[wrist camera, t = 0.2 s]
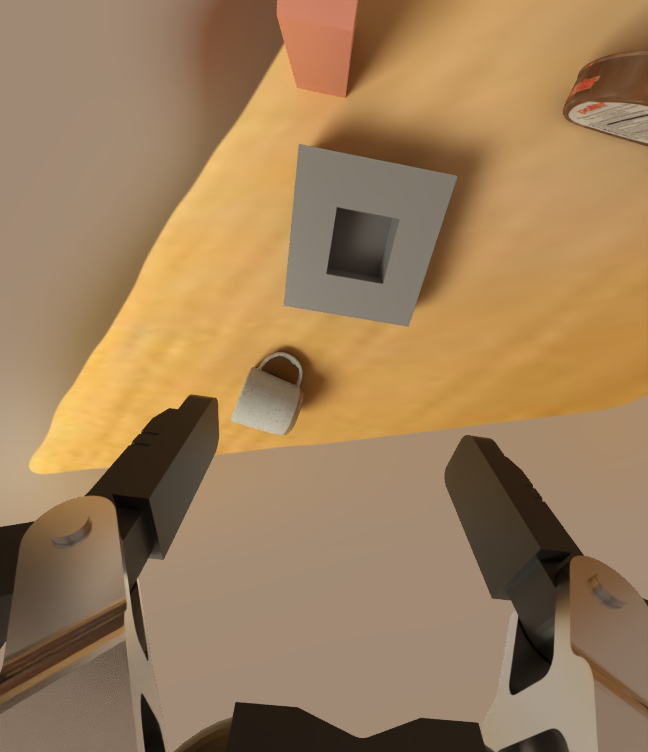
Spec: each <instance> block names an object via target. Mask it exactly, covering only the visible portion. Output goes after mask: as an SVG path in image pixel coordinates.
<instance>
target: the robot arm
mask: <svg viewBox="0 0 648 752" xmlns="http://www.w3.org/2000/svg"><path fill="white" fill-rule="evenodd" d="M218 440H219V420H218V401H217V399H216V398H213V397H206V396H199V395H189V396H188V397H187V399H186V400H185V401H184V402H183V404H182V405H181V406H180V408H179V409H171V408H169V409H167V410H166V411H164V412H162V413H161V414H159V415H157V416H156V417H154V418H152V420H151V421H150V422H149V423H148V424H147V425H146V427H145V428H144V429H143V430H142V431H141V434H139V435H138V436H137V437H136V438H135V439H134V440H133V442H132V444H131V445H129V446H128V447H127V448H126V450H125V451H124V452H123V453H122V454H121V455H120V456H119V458H118V459H117V460H116V461H115V462H114V463H113V465H112V466H111V467H110V468H109V469H108V470H107V471H106V473H105V474H104V475H103V476H102V477H101V479H100V480H99V481H98V482H97V483H96V484H95V485H94V486H93V488H92V489H91V490H90V491H89V492H88V493H87V494H86V495H85V496H83V497H78V498H75V499H71V500H68V501H66V502H63V503H61V504H59V505H57V506H55V507H54V508H52V509H50V510H49V511H47V512H46V513H44V514H43V515H42V516H40V517H39V518H38V519H37V520H36V521H34V522H29V523H22V524H16V525H10V526H4V527H0V649H1V647H2V646H3V644H4V643H5V642H6V648H5V654H4V662H3V666H2V669H1V672H0V752H169V751H168V745H167V739H166V733H165V727H164V720H163V714H162V708H161V702H160V697H159V692H158V687H157V683H156V679H155V675H154V671H153V665H152V660H151V654H150V647H149V641H148V634H147V629H146V622H145V615H144V609H143V602H142V596H141V590H140V584H139V578H138V576H139V574H140V573H141V571H142V569H143V567H144V565H145V563H146V561H147V559H148V558H151V559H161V560H163V559H164V558H165V555H166V553H167V551H168V549H169V547H170V545H171V543H172V541H173V539H174V537H175V535H176V533H177V531H178V529H179V527H180V525H181V522H182V520H183V518H184V516H185V514H186V512H187V510H188V508H189V506H190V504H191V502H192V500H193V498H194V496H195V494H196V492H197V490H198V488H199V485H200V483H201V481H202V479H203V477H204V475H205V473H206V471H207V469H208V467H209V465H210V463H211V461H212V459H213V457H214V455H215V452H216V449H217V446H218ZM445 484H446V487H447V490H448V492H449V495H450V497H451V499H452V502H453V504H454V507H455V509H456V512H457V514H458V516H459V519H460V521H461V524H462V526H463V529H464V531H465V534H466V536H467V538H468V541H469V543H470V545H471V548H472V550H473V553H474V555H475V558H476V560H477V563H478V565H479V567H480V570H481V572H482V575H483V577H484V580H485V582H486V585H487V587H488V590H489V592H490V594H491V597H492V598H494V599H503V600H511V601H512V603H513V605H514V607H515V610H514V611H513V612H512V613H511V615H510V618H509V624H508V630H507V637H506V643H505V649H504V655H503V662H502V668H501V675H500V680H499V687H498V692H497V696H496V698H495V701H494V703H493V706H492V707H491V709H490V710H489V712H488V714H487V716H486V718H485V720H484V723H483V726H482V729H481V731H480V727H479V724H478V723H475V722H463V721H451V720H439V719H428V718H427V719H426V718H419V719H417V720H414V721H411V722H408V723H406V724H403V725H401V726H398V727H395V728H392V729H389V730H387V731H384V732H382V733H379V734H376V735H373V736H371V737H368V738H358V737H355V736H353V735H351V734H349V733H347V732H345V731H343V730H341V729H339V728H337V727H335V726H333V725H331V724H329V723H327V722H325V721H323V720H321V719H319V718H317V717H315V716H314V715H311V714H310V713H308V712H306V711H304V710H302V709H300V708H298V707H287V706H276V705H264V704H251V703H240V702H236V703H235V708H234V713H233V717H231V718H228V719H225V720H222V721H219V722H217V723H215V724H213V725H211V726H209V727H207V728H205V729H203V730H202V731H200V732H199V733H197V734H196V735H194V736H193V737H192V738H190V739H189V740H187V741H186V742H184V743H183V744H182V745H181V746H180V747H179V748H178V749H176V750H175V751H174V752H648V600H646V599H643V598H642V597H641V596H640V595H639V593H638V592H637V591H636V590H635V588H634V587H633V586H632V585H631V584H630V583H629V582H628V581H627V580H626V579H625V578H623V577H622V576H621V575H620V574H619V573H617V572H616V571H615V570H613V569H612V568H610V567H609V566H607V565H606V564H604V563H602V562H600V561H599V560H596V559H594V558H591V557H588V556H584V555H583V554H582V552H581V551H580V549H579V548H578V547H577V545H576V544H575V543H574V541H573V540H572V539H571V537H570V536H569V535H568V533H567V532H566V530H565V529H564V527H563V526H562V525H561V523H560V522H559V521H558V519H557V518H556V517H555V515H554V514H553V513H552V511H551V510H550V508H549V507H548V505H547V504H546V503H545V502H543V501H542V497H541V496H540V494H539V493H538V492H537V490H536V489H534V488H533V485H532V483H531V482H530V481H529V479H528V478H527V477H526V475H525V474H524V472H523V471H522V470H521V469H520V468H519V467H518V466H516V465H515V464H514V463H513V462H512V461H511V460H510V459H509V458H507V457H505V456H504V454H503V453H502V451H501V450H500V449H499V447H498V446H497V444H496V443H495V442H494V441H493V440H492V439H490V438H484V437H477V436H470V435H466V436H464V437H463V438H462V439H461V441H460V443H459V445H458V447H457V448H456V450H455V452H454V454H453V456H452V458H451V460H450V461H449V463H448V465H447V467H446V470H445Z"/></svg>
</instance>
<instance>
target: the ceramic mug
mask: <svg viewBox="0 0 648 752" xmlns="http://www.w3.org/2000/svg"><path fill="white" fill-rule="evenodd" d="M277 356H283V357H285V358H287V359H288V360H290V361H291V362H292V364H294V365H296V366H297V367H298V370H299V376H298V380H297V383H296V384H295V385H294V384H292V383H290V382H287V381H285V380H282V379H280V378H278V377H276V376H273V375H271V374H269V373H267V372H265V371H263V370H262V367H263V366H264V365H265V364H266V363H267V362H268V361H269V360H270V359H272V358H274V357H277ZM301 381H302V367H301V364H300V363H299V361H298V360H297V359H296V358H295V357H294V356H292V355H290V354H288V353H285V352H275V353H273V354H271V355H269V356H268V357H266V358H265V359H264V361H263V362H262V363H261V364H260V366H259V367H258V368H255V367H252V368H251V370H250V372H249V374H248V376H247V379H246V381H245V383H244V386H243V389H242V391H241V394H240V396H239V399H238V401H237V404H236V406H235V409H234V411H233V414H232V417H231V421H232V422H235V423H239V424H243V425H246V426H249V427H253V428H256V429H260V430H263V431H267V432H270V433H274V434H280V435H286V434H288V433H289V432H290V431H291V430H292V428H293V427H294V425H295V423H296V420H297V418H298V415H299V412H300V410H301V406H302V402H303V392H302V390H301V389H300V388H299V386H300V383H301Z"/></svg>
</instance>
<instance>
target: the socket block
mask: <svg viewBox="0 0 648 752" xmlns="http://www.w3.org/2000/svg"><path fill="white" fill-rule="evenodd" d="M457 177H458V176H456V175H451V174H446V173H441V172H436V171H431V170H426V169H421V168H416V167H411V166H406V165H401V164H396V163H391V162H386V161H381V160H376V159H371V158H367V157H362V156H357V155H352V154H347V153H342V152H337V151H332V150H327V149H322V148H317V147H312V146H307V145H302V144H299V149H298V160H297V171H296V181H295V192H294V203H293V213H292V224H291V235H290V246H289V256H288V267H287V278H286V289H285V299H284V306H289V307H295V308H301V309H307V310H313V311H319V312H325V313H331V314H337V315H343V316H349V317H355V318H361V319H367V320H373V321H378V322H384V323H390V324H396V325H402V326H408V327H409V324H410V321H411V318H412V315H413V312H414V309H415V305H416V302H417V299H418V296H419V293H420V290H421V287H422V284H423V281H424V278H425V275H426V272H427V269H428V266H429V263H430V260H431V256H432V253H433V250H434V247H435V244H436V241H437V238H438V235H439V232H440V229H441V226H442V223H443V220H444V217H445V214H446V210H447V207H448V204H449V201H450V198H451V195H452V192H453V189H454V186H455V183H456V180H457Z"/></svg>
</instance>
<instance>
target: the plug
mask: <svg viewBox="0 0 648 752" xmlns="http://www.w3.org/2000/svg"><path fill="white" fill-rule="evenodd" d="M358 7H359V0H277V17H278V21H279V24H280V28H281V31H282V34H283V39H284V42H285V46H286V50H287V53H288V57H289V60H290V64H291V68H292V71H293V75H294V78H295V82H296V85H297V88H301V89H306V90H310V91H315V92H320V93H324V94H329V95H334V96H339V97H343V98H346V91H347V84H348V77H349V71H350V64H351V57H352V50H353V43H354V37H355V30H356V23H357V15H358Z"/></svg>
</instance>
